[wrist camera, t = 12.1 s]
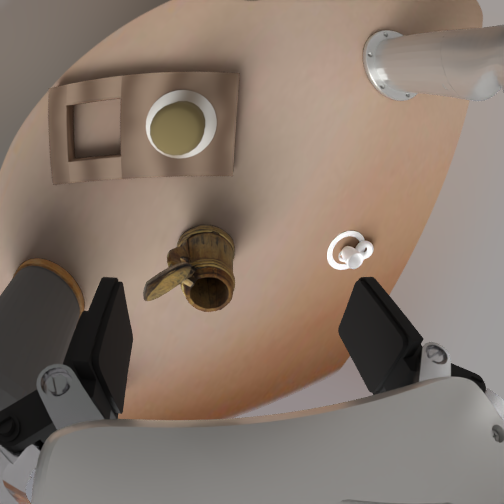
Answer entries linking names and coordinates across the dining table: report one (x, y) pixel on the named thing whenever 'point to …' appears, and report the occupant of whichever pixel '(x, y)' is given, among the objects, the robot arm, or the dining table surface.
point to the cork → (177, 128)
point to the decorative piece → (35, 325)
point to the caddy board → (146, 126)
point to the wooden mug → (198, 269)
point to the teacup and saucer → (350, 252)
